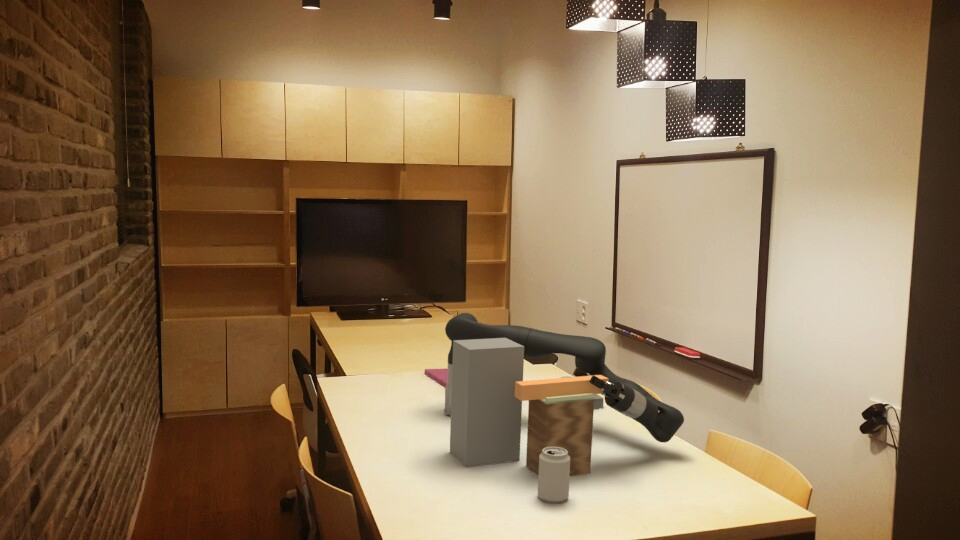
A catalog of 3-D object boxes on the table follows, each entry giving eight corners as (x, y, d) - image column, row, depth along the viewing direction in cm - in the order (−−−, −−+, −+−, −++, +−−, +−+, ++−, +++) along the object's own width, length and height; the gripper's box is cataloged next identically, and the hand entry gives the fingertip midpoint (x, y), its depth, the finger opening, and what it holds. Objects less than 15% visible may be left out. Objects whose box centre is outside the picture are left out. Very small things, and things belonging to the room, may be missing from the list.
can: (535, 491, 182) (537, 444, 181) (564, 491, 183) (567, 444, 181) (540, 504, 174) (542, 455, 173) (571, 504, 175) (573, 455, 174)
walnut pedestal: (543, 479, 190) (546, 404, 187) (526, 465, 199) (529, 393, 196) (590, 473, 195) (594, 399, 193) (571, 459, 204) (574, 389, 202)
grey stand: (465, 467, 196) (469, 349, 192) (449, 452, 207) (453, 340, 203) (519, 460, 202) (524, 346, 199) (501, 446, 213) (505, 337, 210)
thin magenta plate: (423, 365, 292) (484, 361, 304) (423, 375, 293) (484, 371, 305) (466, 390, 257) (533, 385, 269) (465, 401, 257) (532, 396, 269)
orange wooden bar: (521, 400, 188) (522, 385, 187) (514, 396, 191) (515, 381, 191) (607, 392, 198) (608, 378, 197) (599, 389, 202) (600, 374, 201)
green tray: (546, 404, 187) (547, 398, 187) (529, 393, 196) (529, 388, 196) (594, 399, 193) (594, 394, 193) (574, 389, 202) (574, 384, 202)
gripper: (617, 381, 210) (576, 356, 203) (647, 395, 197) (604, 368, 190) (605, 404, 209) (563, 380, 203) (634, 419, 196) (590, 394, 190)
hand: (583, 374), depth 197 cm, fingers open, 8 cm apart
